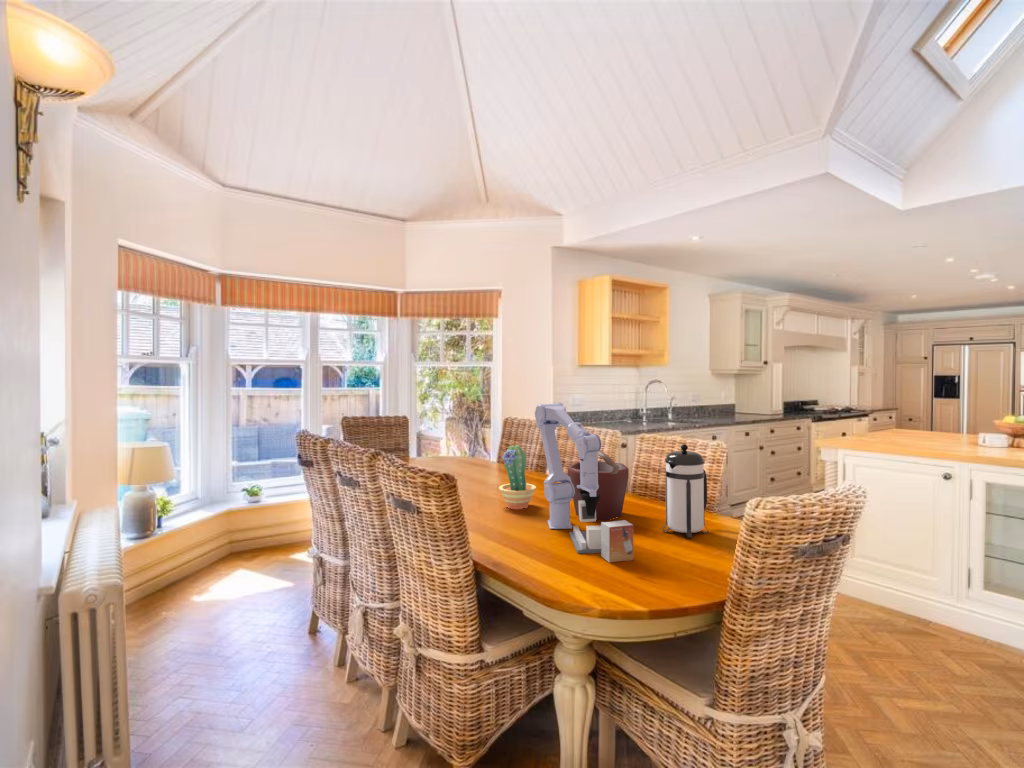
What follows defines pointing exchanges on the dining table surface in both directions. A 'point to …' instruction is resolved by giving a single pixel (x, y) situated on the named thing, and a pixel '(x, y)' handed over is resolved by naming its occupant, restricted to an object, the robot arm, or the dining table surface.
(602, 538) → the small box
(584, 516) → the block
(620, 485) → the bucket
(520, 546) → the dining table surface
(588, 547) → the rail plate
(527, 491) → the potted cactus
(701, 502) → the coffee press
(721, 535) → the dining table surface
